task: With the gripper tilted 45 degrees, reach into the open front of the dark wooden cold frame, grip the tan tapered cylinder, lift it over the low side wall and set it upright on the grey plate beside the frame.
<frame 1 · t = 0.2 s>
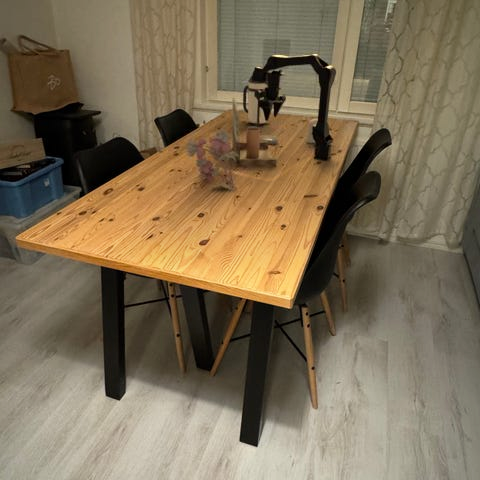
hand: (270, 118, 194), 14 cm above the table, tool pointing down, fingers open, 9 cm apart
tan tapered cylinder: (252, 156, 186), point 1 cm above the table, touching cold frame
cold frame: (256, 158, 187), on the table
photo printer: (316, 142, 211), on the table
flower: (212, 184, 160), on the table
coffee press: (255, 123, 243), on the table
grey plate: (266, 142, 210), on the table
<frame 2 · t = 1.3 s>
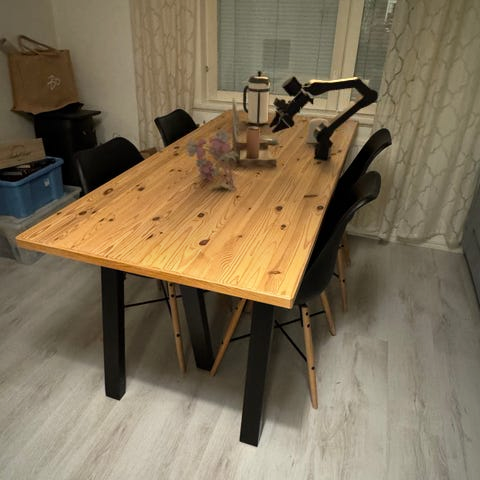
hand: (271, 129, 181), 13 cm above the table, tool tilted 45°, fingers open, 9 cm apart
nothing on the table moved.
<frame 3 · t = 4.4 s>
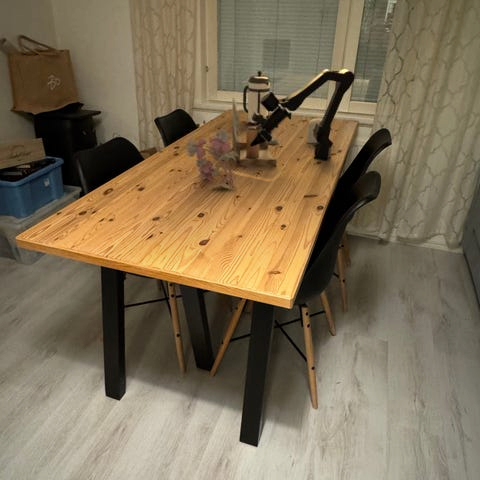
hand: (249, 143, 183), 7 cm above the table, tool tilted 45°, fingers closed on tan tapered cylinder, 6 cm apart
tan tapered cylinder: (252, 156, 186), point 1 cm above the table, touching cold frame, gripper
everything else where it was.
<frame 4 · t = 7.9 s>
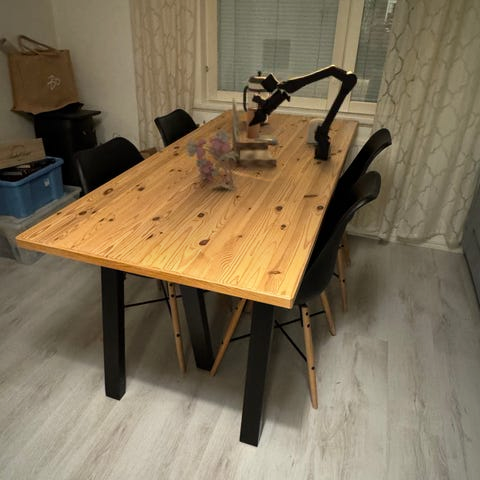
hand: (250, 124, 188), 14 cm above the table, tool tilted 45°, fingers closed on tan tapered cylinder, 6 cm apart
tan tapered cylinder: (253, 137, 191), point 7 cm above the table, touching gripper
everything else where it was.
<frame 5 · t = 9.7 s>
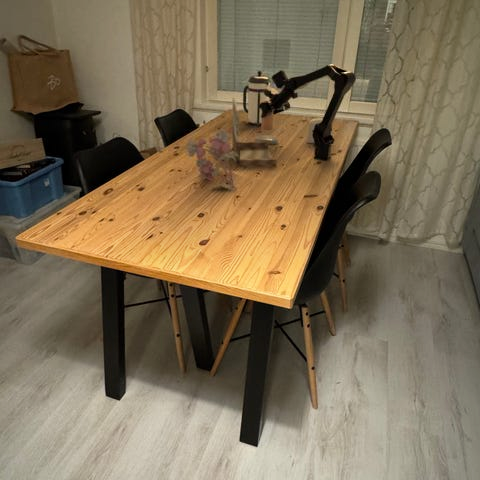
hand: (265, 116, 204), 13 cm above the table, tool tilted 45°, fingers closed on tan tapered cylinder, 6 cm apart
tan tapered cylinder: (267, 128, 206), point 7 cm above the table, touching gripper
everything else where it was.
when the fingers open (9 cm above the table, at t = 11.3 s): tan tapered cylinder drops 1 cm, resting on grey plate.
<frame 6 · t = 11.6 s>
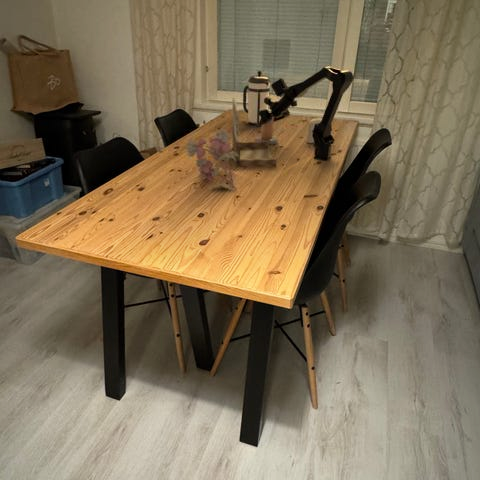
hand: (265, 123, 205), 10 cm above the table, tool tilted 45°, fingers open, 9 cm apart
tan tapered cylinder: (266, 138, 208), point 2 cm above the table, touching grey plate
everything else where it was.
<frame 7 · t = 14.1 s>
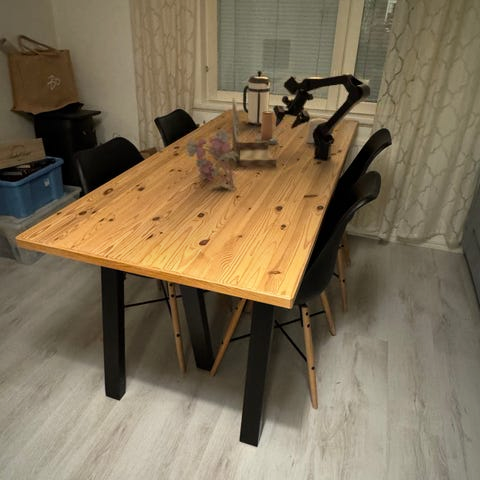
hand: (283, 127, 198), 10 cm above the table, tool tilted 30°, fingers open, 9 cm apart
nothing on the table moved.
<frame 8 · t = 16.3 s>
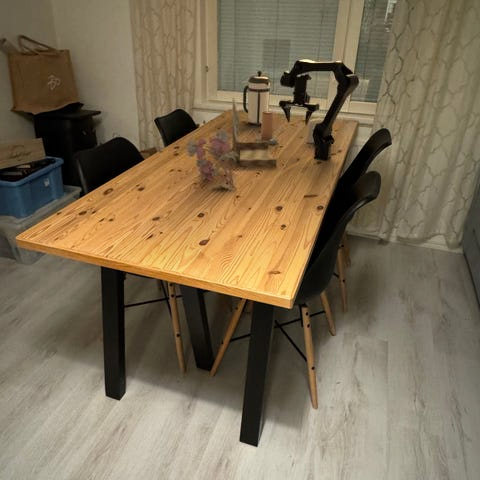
hand: (297, 123, 193), 13 cm above the table, tool pointing down, fingers open, 9 cm apart
nothing on the table moved.
at the end: tan tapered cylinder inside the target area on the grey plate (0.1 cm from its centre), point 2.0 cm above the grey plate's base; tan tapered cylinder tilted 0°; the gripper is holding nothing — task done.
